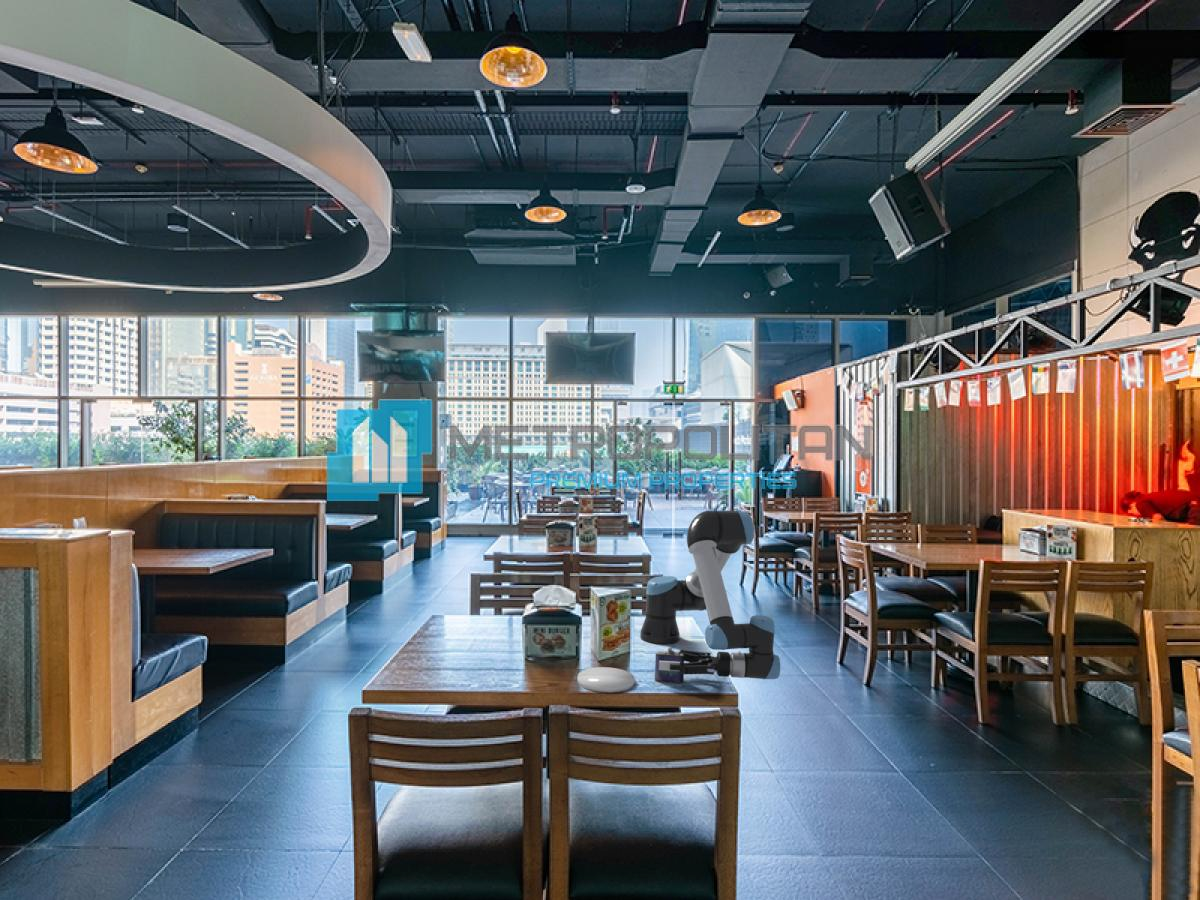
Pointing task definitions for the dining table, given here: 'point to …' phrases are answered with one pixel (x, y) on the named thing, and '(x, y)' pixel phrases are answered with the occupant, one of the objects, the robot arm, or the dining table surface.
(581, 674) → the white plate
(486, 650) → the dining table surface
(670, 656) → the flask
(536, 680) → the dining table surface
